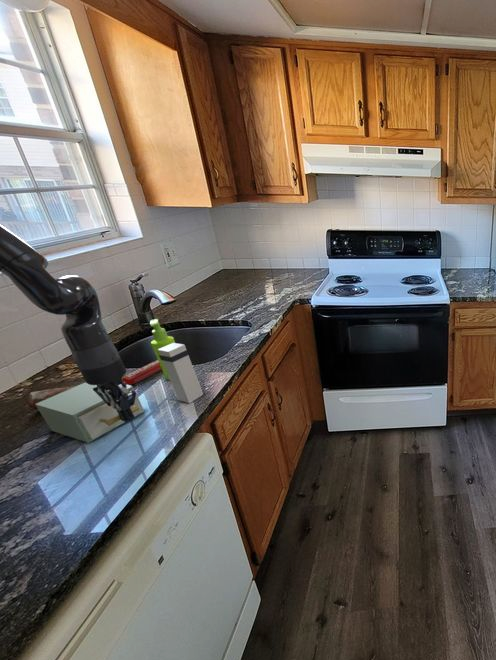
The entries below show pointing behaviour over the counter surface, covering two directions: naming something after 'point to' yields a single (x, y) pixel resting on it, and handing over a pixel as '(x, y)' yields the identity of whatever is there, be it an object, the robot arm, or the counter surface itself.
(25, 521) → the counter surface
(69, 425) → the cabinet
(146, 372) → the candy bar
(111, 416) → the drawer
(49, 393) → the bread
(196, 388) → the white tall square block
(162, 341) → the soap dispenser
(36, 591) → the counter surface
